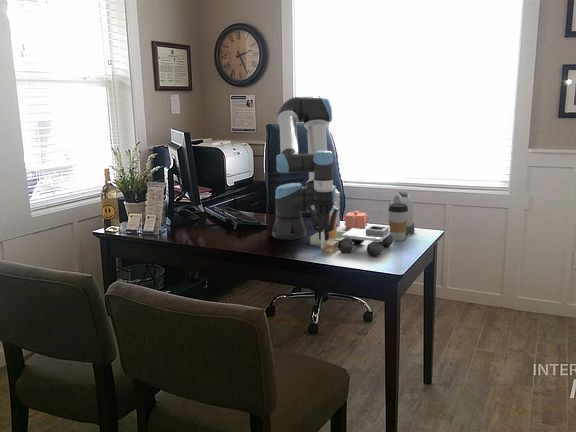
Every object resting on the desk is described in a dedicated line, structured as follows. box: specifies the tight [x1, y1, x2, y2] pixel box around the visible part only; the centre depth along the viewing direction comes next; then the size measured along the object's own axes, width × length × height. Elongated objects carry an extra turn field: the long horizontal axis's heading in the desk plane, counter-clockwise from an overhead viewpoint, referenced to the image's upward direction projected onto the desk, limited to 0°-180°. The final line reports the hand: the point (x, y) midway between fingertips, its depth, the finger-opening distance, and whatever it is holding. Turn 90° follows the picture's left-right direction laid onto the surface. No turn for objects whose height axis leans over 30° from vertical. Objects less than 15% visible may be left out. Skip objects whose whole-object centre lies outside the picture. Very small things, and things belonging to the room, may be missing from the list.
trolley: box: [338, 224, 394, 258], centre depth 221 cm, size 18×16×9 cm
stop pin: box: [329, 214, 337, 239], centre depth 233 cm, size 4×4×11 cm
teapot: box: [342, 210, 369, 231], centre depth 255 cm, size 12×15×8 cm
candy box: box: [330, 188, 341, 227], centre depth 267 cm, size 14×6×16 cm, turn 5°
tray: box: [309, 230, 351, 247], centre depth 234 cm, size 14×14×4 cm
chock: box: [322, 240, 339, 255], centre depth 220 cm, size 4×6×4 cm, turn 152°
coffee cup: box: [388, 203, 408, 242], centre depth 235 cm, size 8×8×15 cm
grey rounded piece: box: [392, 191, 415, 236], centre depth 248 cm, size 16×10×18 cm, turn 4°
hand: (323, 247), depth 222 cm, fingers closed
